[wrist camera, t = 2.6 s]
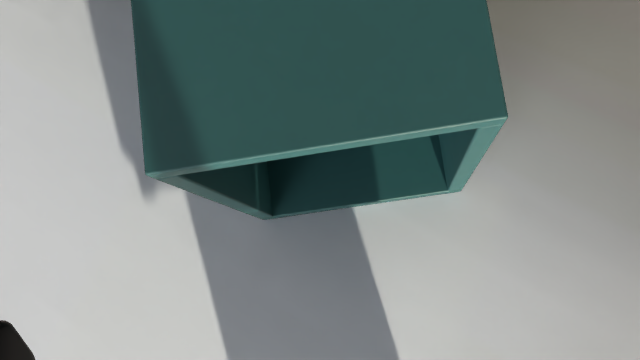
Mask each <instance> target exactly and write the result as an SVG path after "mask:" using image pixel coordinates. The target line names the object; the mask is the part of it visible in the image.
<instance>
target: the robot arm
mask: <svg viewBox="0 0 640 360" xmlns="http://www.w3.org/2000/svg"><path fill="white" fill-rule="evenodd" d="M0 360H35V357H34V355H33V353H32V352H31V350H30V349H29V347H28V346H27V345H26V343H25V342H24V340H23V339H22V338H21V336H20V335H19V333H18V332H17V331H16V329H15V328H14V327H13V325H12V324H11V323H9V322H7V321H3V320H1V321H0Z"/></svg>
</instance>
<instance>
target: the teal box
mask: <svg viewBox="0 0 640 360" xmlns="http://www.w3.org/2000/svg"><path fill="white" fill-rule="evenodd" d="M131 6H132V18H133V30H134V42H135V55H136V67H137V79H138V92H139V104H140V116H141V128H142V141H143V153H144V165H145V174H146V175H147V176H150V177H152V178H155V179H157V180H160V181H162V182H165V183H168V184H170V185H173V186H175V187H178V188H181V189H183V190H186V191H189V192H191V193H194V194H197V195H199V196H202V197H204V198H207V199H210V200H212V201H215V202H218V203H220V204H223V205H226V206H228V207H231V208H233V209H236V210H239V211H241V212H244V213H247V214H249V215H252V216H255V217H257V218H260V219H263V220H267V219H274V218H281V217H287V216H294V215H301V214H308V213H315V212H322V211H329V210H336V209H342V208H349V207H356V206H363V205H370V204H377V203H384V202H391V201H397V200H404V199H411V198H418V197H425V196H432V195H439V194H446V193H452V192H459V191H461V190H462V188H463V187H464V185H465V184H466V182H467V181H468V179H469V178H470V176H471V174H472V173H473V171H474V170H475V168H476V167H477V165H478V163H479V162H480V160H481V159H482V157H483V156H484V154H485V152H486V151H487V149H488V148H489V146H490V145H491V143H492V141H493V140H494V138H495V137H496V135H497V134H498V132H499V130H500V129H501V127H502V126H503V124H504V123H505V121H506V119H507V118H508V113H507V108H506V103H505V97H504V92H503V87H502V81H501V76H500V71H499V65H498V60H497V55H496V49H495V44H494V39H493V33H492V28H491V23H490V17H489V12H488V7H487V1H486V0H131Z"/></svg>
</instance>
